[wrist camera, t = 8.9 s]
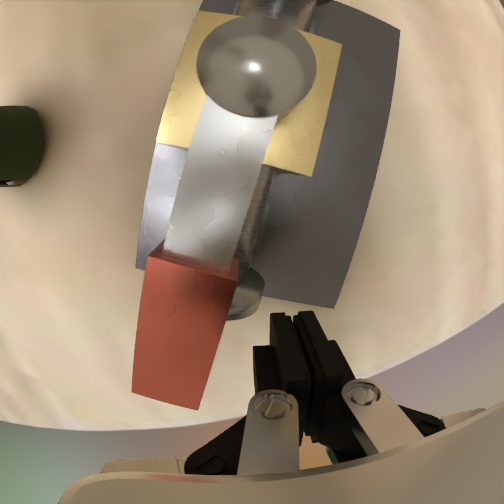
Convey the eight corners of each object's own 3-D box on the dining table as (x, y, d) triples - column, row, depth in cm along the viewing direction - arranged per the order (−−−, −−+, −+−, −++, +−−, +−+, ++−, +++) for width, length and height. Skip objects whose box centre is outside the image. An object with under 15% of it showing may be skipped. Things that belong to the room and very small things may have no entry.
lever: (221, 31, 8) (218, 0, 6) (312, 57, 9) (331, 32, 6) (137, 355, 12) (122, 388, 10) (211, 375, 12) (207, 412, 10)
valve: (215, -24, 12) (209, -83, 6) (397, 31, 14) (449, -3, 7) (137, 265, 18) (93, 315, 11) (332, 306, 20) (369, 364, 13)
